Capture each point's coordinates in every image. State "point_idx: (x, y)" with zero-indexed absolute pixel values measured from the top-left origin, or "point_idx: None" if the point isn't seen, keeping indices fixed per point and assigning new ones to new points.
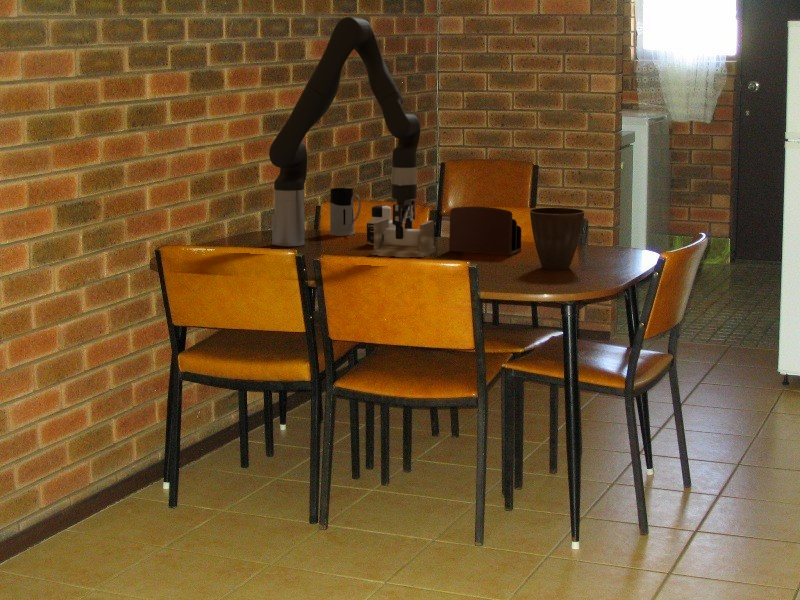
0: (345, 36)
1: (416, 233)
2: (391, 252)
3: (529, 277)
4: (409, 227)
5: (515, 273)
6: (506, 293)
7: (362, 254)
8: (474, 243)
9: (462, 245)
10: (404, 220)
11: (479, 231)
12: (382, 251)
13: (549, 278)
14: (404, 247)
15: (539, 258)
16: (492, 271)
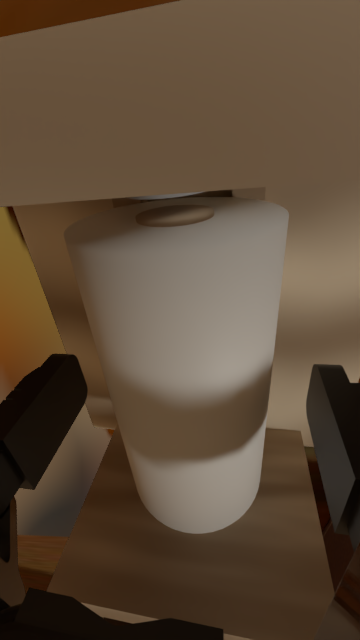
0: None
1: (138, 489)
2: (48, 292)
3: (22, 573)
4: (325, 464)
5: (41, 564)
6: None
7: (7, 17)
8: (334, 574)
9: (348, 535)
10: (14, 570)
11: None
12: (25, 233)
13: (36, 587)
14: None
15: (112, 620)
16: (30, 543)
